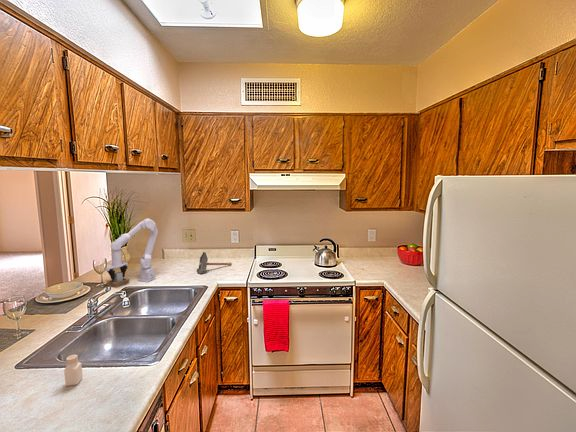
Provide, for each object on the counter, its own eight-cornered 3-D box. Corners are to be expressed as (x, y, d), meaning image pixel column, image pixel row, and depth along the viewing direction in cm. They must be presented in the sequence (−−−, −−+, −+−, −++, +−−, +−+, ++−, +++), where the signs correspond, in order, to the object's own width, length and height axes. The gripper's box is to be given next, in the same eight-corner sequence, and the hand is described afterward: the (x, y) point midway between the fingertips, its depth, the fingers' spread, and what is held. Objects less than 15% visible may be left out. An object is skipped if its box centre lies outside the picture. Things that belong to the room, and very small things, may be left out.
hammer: (234, 253, 243) (203, 252, 221) (231, 272, 243) (200, 273, 220) (229, 252, 247) (199, 251, 224) (227, 271, 246) (196, 272, 224)
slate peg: (123, 283, 201) (122, 272, 200) (117, 285, 197) (117, 274, 196) (119, 283, 202) (118, 272, 201) (113, 285, 199) (112, 273, 198)
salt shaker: (64, 386, 100) (62, 361, 99) (71, 379, 104) (68, 354, 103) (77, 385, 101) (75, 359, 100) (83, 377, 105) (81, 353, 104)
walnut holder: (129, 283, 202) (129, 279, 202) (116, 287, 194) (116, 283, 193) (120, 281, 206) (120, 277, 206) (107, 285, 197) (107, 281, 197)
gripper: (122, 255, 206) (123, 274, 207) (102, 261, 193) (103, 280, 194) (129, 256, 203) (130, 275, 205) (109, 262, 190) (110, 282, 191)
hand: (118, 278), depth 199 cm, fingers open, 7 cm apart
